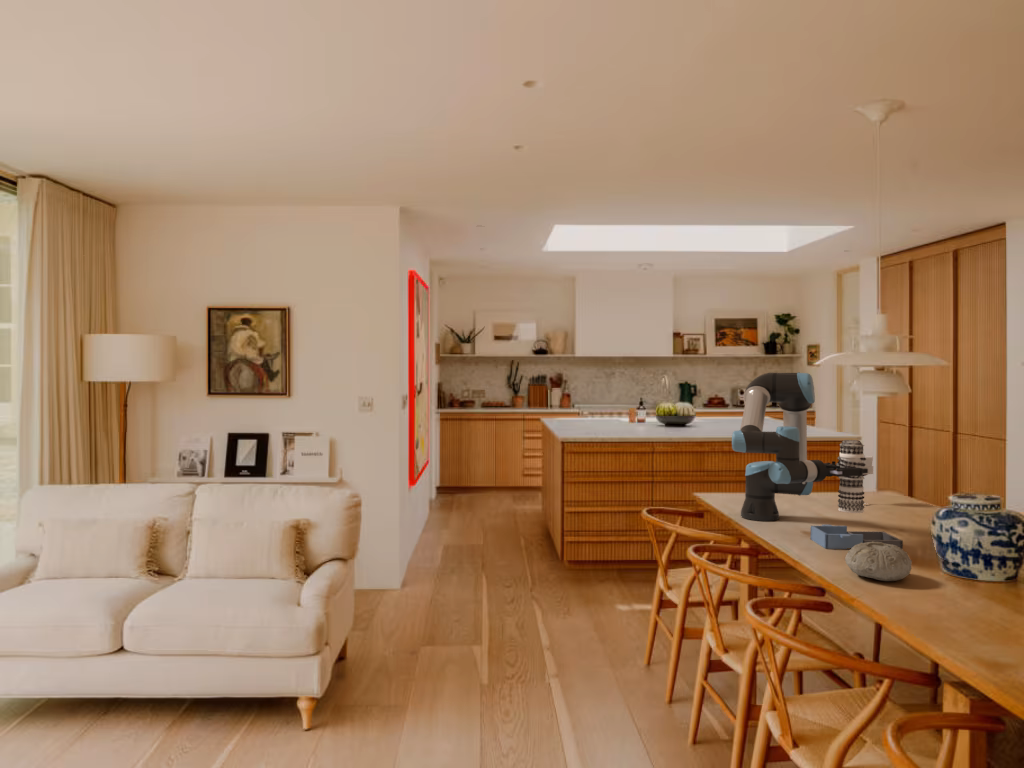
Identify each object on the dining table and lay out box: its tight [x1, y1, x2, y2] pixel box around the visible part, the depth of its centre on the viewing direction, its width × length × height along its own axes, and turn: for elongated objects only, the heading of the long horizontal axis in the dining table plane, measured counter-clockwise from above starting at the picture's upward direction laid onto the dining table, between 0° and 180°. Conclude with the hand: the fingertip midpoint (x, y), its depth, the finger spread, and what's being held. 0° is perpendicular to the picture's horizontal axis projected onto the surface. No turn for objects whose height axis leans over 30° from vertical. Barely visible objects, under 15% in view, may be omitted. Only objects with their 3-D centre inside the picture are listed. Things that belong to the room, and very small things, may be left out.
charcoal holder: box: [847, 530, 904, 550], centre depth 257 cm, size 14×14×3 cm
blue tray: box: [809, 524, 863, 550], centre depth 257 cm, size 13×18×5 cm
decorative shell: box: [844, 541, 913, 582], centre depth 218 cm, size 18×18×10 cm
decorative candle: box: [837, 439, 866, 514], centre depth 257 cm, size 9×9×25 cm
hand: (861, 468), depth 258 cm, fingers closed on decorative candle, 9 cm apart
